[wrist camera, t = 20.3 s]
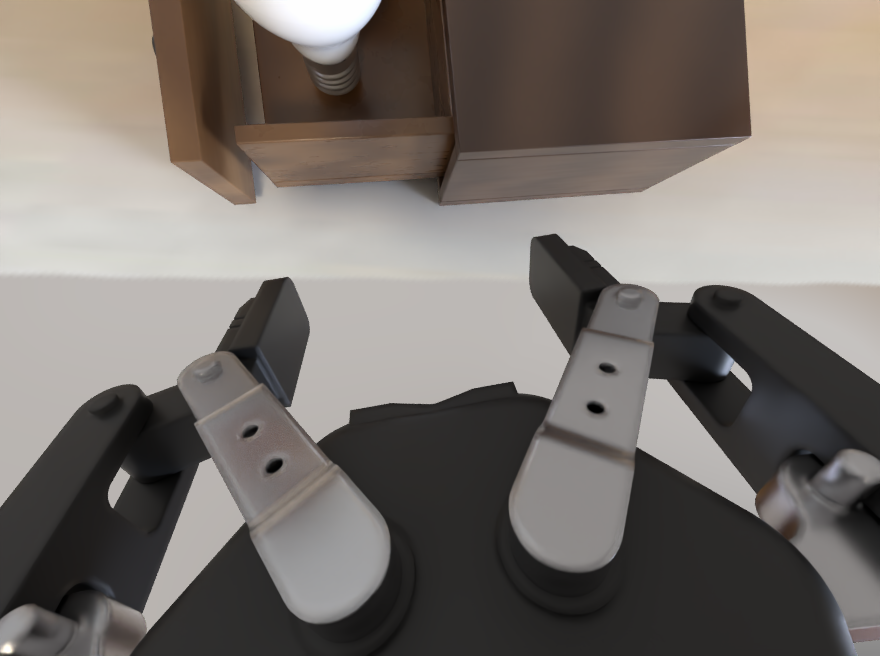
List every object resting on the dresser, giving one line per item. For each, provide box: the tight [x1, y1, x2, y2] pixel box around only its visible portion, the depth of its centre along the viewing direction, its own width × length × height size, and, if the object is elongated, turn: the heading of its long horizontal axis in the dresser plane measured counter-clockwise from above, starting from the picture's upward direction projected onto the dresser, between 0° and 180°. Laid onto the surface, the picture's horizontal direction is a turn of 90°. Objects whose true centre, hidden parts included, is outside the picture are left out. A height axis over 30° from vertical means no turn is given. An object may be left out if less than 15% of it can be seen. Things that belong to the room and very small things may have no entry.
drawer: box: [149, 0, 455, 205], centre depth 18 cm, size 14×12×6 cm
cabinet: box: [437, 0, 751, 206], centre depth 19 cm, size 14×14×8 cm
